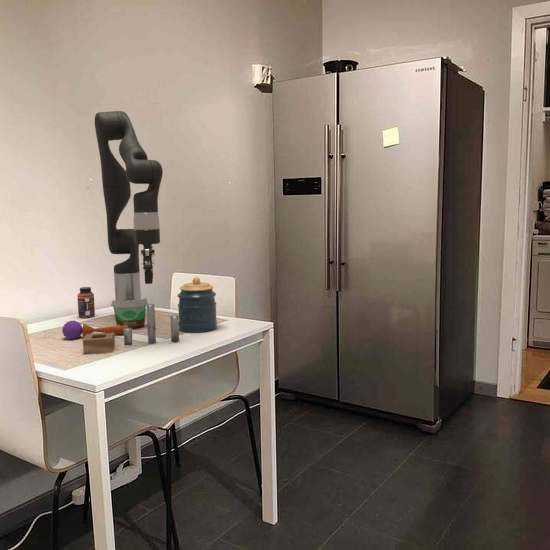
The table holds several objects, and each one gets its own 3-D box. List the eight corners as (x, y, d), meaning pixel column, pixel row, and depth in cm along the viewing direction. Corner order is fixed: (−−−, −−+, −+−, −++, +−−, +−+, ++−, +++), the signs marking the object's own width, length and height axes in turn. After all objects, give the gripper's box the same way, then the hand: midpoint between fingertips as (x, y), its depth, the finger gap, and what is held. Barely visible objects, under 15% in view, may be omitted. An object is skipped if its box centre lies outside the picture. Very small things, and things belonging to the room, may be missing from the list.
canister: (182, 334, 179) (180, 280, 177) (175, 326, 191) (173, 275, 189) (221, 331, 183) (219, 278, 181) (212, 323, 195) (211, 273, 193)
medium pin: (171, 340, 171) (170, 315, 170) (179, 340, 172) (178, 315, 170) (171, 342, 169) (170, 317, 168) (179, 342, 169) (178, 316, 168)
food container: (115, 332, 183) (113, 302, 182) (112, 328, 189) (110, 299, 188) (152, 328, 188) (150, 299, 187) (148, 324, 194) (147, 296, 193)
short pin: (124, 343, 168) (123, 327, 168) (132, 343, 169) (132, 327, 168) (124, 345, 166) (123, 329, 165) (132, 345, 166) (131, 329, 166)
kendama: (127, 325, 177) (61, 325, 171) (127, 342, 178) (61, 342, 173) (127, 318, 182) (63, 317, 177) (127, 334, 184) (63, 334, 179)
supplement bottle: (92, 318, 207) (90, 288, 205) (76, 318, 206) (74, 288, 205) (97, 315, 213) (95, 286, 211) (81, 315, 212) (79, 286, 211)
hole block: (87, 347, 165) (86, 334, 164) (114, 345, 167) (114, 332, 166) (83, 354, 157) (82, 340, 157) (112, 352, 159) (111, 338, 158)
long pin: (148, 342, 170) (146, 303, 168) (156, 341, 170) (154, 303, 169) (148, 344, 167) (146, 305, 166) (156, 343, 168) (154, 304, 166)
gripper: (134, 227, 170) (137, 279, 172) (132, 229, 156) (135, 285, 159) (159, 226, 172) (161, 278, 174) (159, 228, 158) (161, 284, 160)
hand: (149, 281), depth 166 cm, fingers open, 8 cm apart
